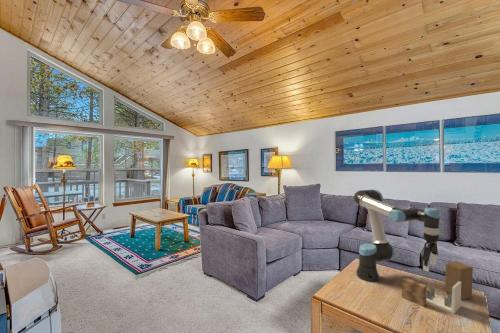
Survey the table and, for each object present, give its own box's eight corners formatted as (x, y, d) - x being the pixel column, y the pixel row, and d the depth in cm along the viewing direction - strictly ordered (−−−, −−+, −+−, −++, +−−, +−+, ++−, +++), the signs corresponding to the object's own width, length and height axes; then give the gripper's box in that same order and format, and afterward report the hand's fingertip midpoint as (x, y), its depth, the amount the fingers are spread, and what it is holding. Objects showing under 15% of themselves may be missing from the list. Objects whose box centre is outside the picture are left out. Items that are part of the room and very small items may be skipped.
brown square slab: (401, 297, 153) (402, 279, 153) (404, 295, 156) (404, 277, 155) (423, 307, 144) (424, 287, 143) (426, 304, 146) (426, 285, 145)
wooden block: (461, 300, 150) (462, 269, 149) (444, 291, 159) (445, 262, 158) (472, 298, 152) (473, 267, 151) (455, 289, 162) (456, 260, 161)
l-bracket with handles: (421, 300, 150) (422, 276, 149) (428, 293, 157) (429, 271, 156) (454, 314, 137) (454, 288, 136) (460, 306, 144) (461, 281, 143)
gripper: (431, 239, 137) (430, 276, 138) (444, 231, 152) (443, 263, 153) (416, 236, 143) (415, 271, 144) (430, 228, 158) (429, 259, 159)
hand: (429, 267), depth 149 cm, fingers open, 13 cm apart
